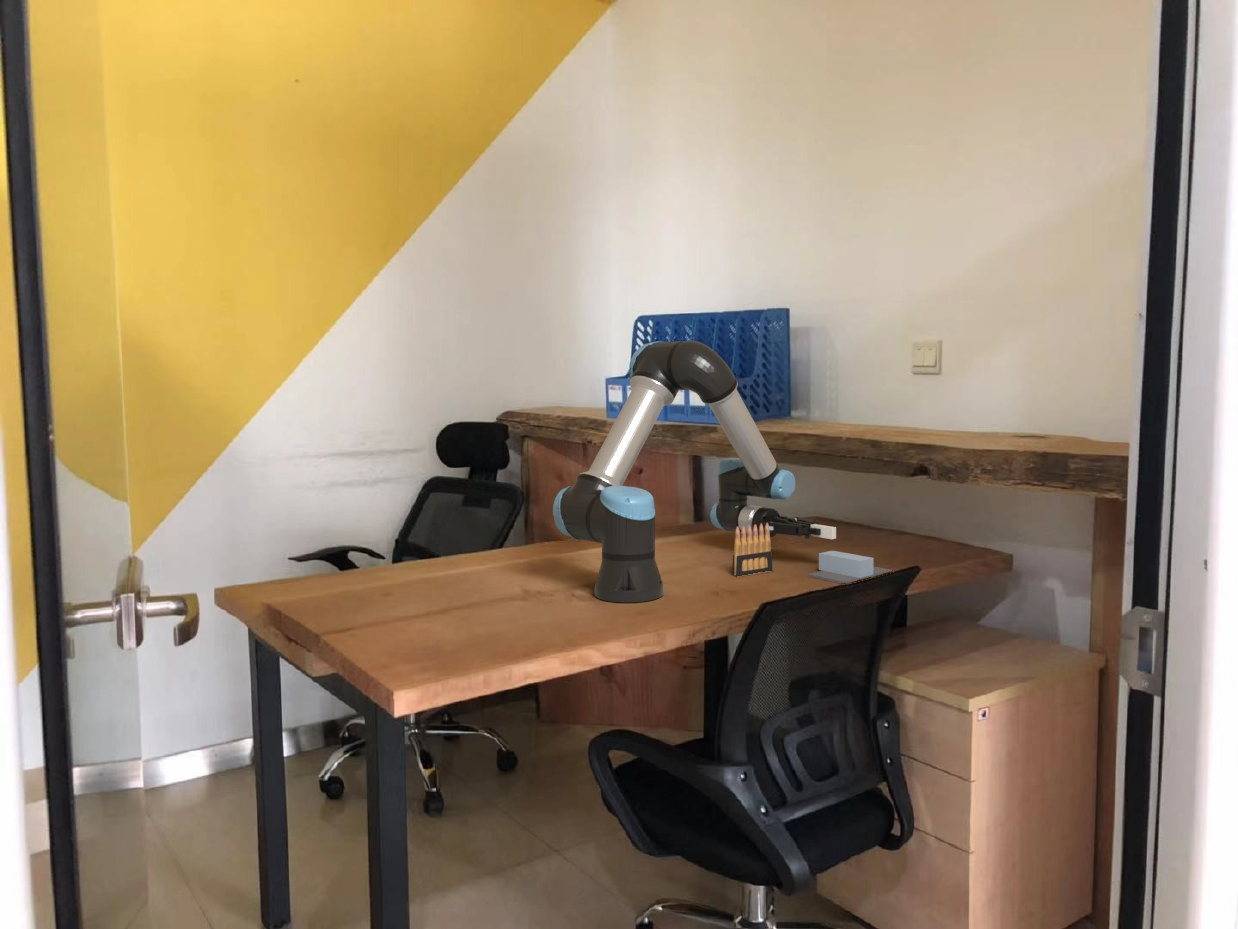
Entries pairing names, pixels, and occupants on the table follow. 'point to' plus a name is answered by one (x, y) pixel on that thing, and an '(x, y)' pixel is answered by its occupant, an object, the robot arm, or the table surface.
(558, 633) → the table surface
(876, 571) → the mat
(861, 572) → the block
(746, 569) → the ammunition clip
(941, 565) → the table surface
